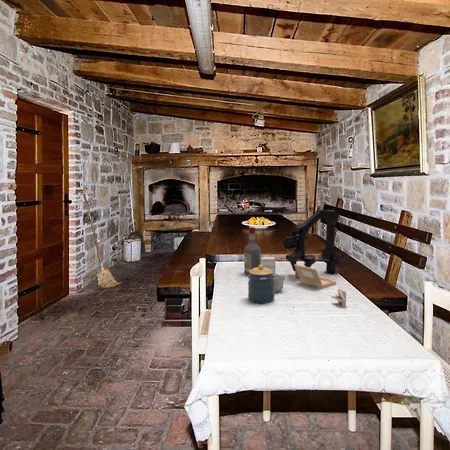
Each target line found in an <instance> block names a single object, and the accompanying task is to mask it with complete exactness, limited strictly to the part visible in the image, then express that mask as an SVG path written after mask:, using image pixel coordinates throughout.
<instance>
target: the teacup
mask: <svg viewBox="0 0 450 450" xmlns="http://www.w3.org/2000/svg"><path fill="white" fill-rule="evenodd" d="M273 275H274V278H273V282H274V293H277V292H280V291H281V290H282V289H283V288H284V281H285V279H286V277H285V275H284V274H283V273H282V274H276V273H275V274H273Z"/></svg>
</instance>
